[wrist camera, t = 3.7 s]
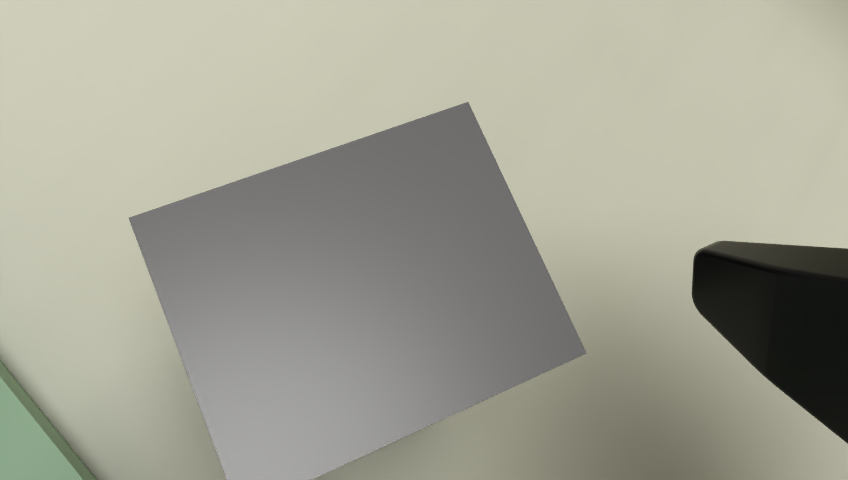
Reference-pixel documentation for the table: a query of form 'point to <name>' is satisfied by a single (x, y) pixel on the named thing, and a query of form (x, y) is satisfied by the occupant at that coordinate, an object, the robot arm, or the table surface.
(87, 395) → the table surface
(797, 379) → the robot arm
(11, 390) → the board
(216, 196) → the grey square pillar
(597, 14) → the table surface
